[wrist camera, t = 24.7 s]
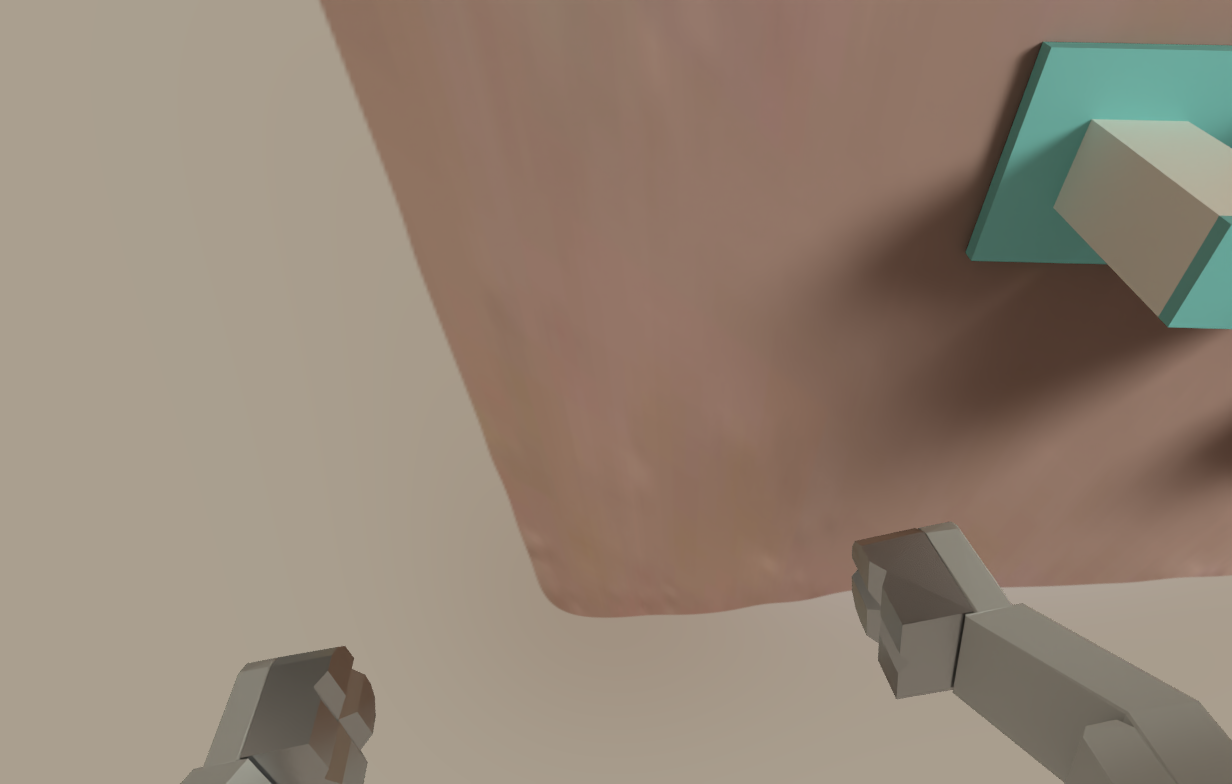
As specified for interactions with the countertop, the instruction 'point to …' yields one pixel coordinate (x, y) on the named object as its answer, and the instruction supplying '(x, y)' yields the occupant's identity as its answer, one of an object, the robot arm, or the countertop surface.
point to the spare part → (1158, 214)
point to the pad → (1057, 122)
